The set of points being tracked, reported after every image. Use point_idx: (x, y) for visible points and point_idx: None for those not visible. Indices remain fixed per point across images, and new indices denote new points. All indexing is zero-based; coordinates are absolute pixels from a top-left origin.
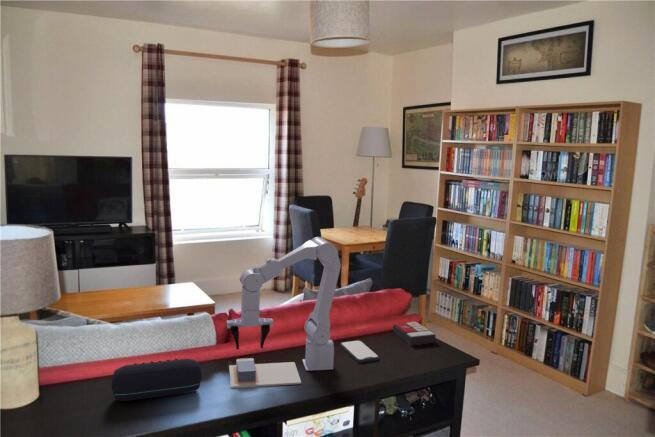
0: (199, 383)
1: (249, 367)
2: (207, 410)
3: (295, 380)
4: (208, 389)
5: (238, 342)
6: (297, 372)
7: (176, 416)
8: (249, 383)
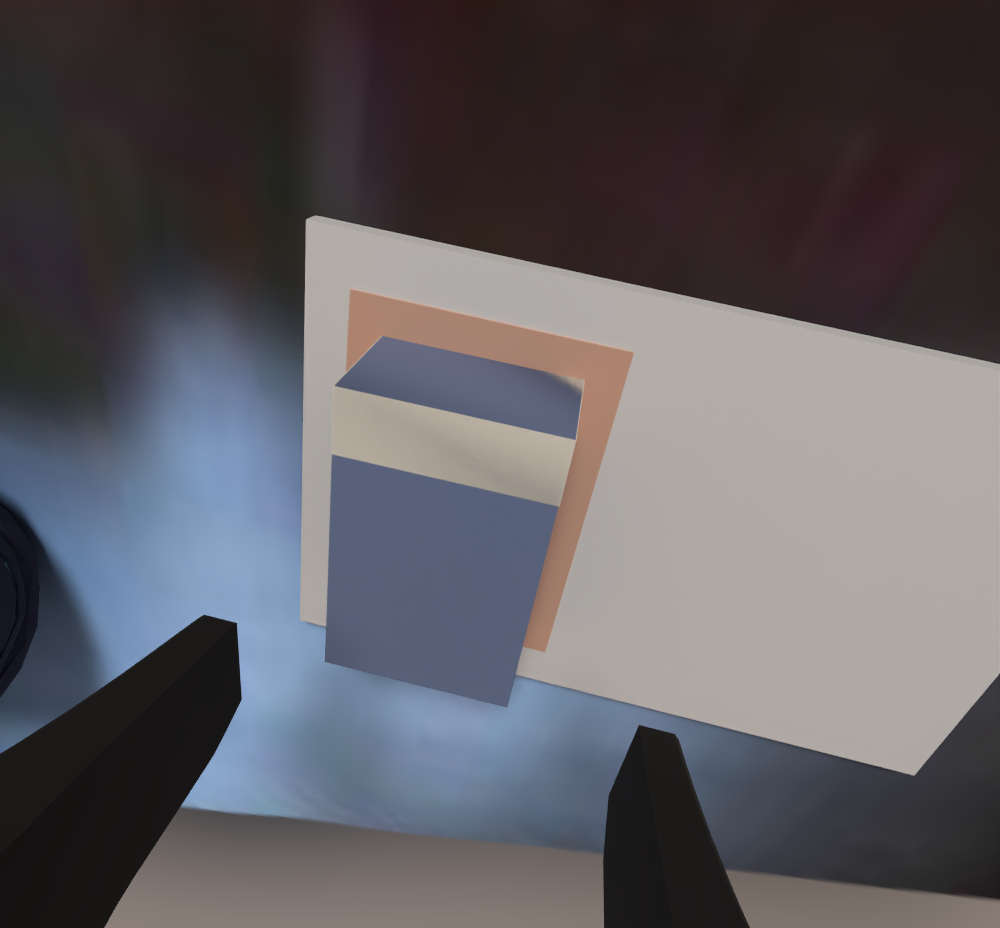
0: (3, 689)
1: (458, 630)
2: None
3: (883, 739)
4: (135, 560)
5: (149, 848)
6: None
7: (3, 731)
8: None
